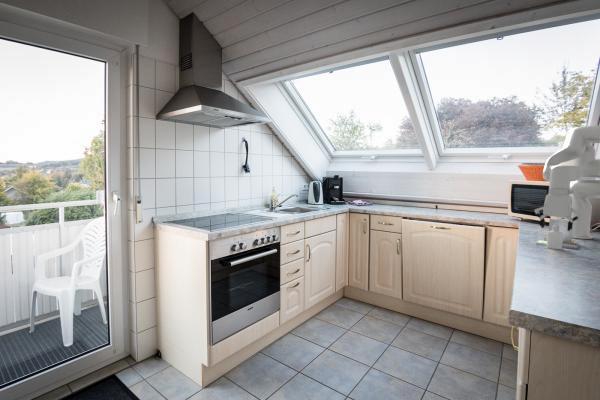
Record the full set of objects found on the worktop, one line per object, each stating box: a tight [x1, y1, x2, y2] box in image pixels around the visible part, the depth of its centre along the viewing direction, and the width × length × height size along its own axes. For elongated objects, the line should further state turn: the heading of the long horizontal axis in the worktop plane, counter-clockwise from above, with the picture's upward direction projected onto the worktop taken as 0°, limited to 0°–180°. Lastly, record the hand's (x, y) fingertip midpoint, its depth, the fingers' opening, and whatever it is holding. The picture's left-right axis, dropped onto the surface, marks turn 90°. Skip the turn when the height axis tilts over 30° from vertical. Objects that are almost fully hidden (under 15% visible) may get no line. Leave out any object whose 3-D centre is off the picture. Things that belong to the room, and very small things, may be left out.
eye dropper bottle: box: [546, 223, 563, 250], centre depth 152 cm, size 4×6×12 cm
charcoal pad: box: [562, 243, 578, 250], centre depth 155 cm, size 7×7×1 cm
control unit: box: [543, 217, 577, 245], centre depth 165 cm, size 7×12×12 cm, turn 45°
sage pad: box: [536, 239, 547, 247], centre depth 161 cm, size 7×7×1 cm
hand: (555, 229), depth 151 cm, fingers open, 9 cm apart
